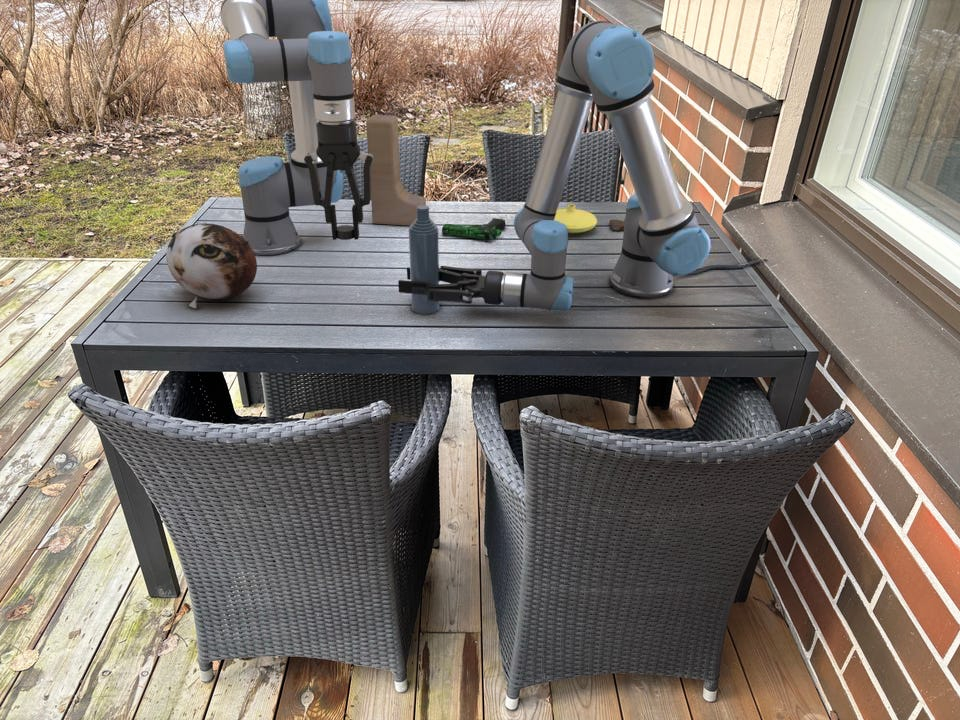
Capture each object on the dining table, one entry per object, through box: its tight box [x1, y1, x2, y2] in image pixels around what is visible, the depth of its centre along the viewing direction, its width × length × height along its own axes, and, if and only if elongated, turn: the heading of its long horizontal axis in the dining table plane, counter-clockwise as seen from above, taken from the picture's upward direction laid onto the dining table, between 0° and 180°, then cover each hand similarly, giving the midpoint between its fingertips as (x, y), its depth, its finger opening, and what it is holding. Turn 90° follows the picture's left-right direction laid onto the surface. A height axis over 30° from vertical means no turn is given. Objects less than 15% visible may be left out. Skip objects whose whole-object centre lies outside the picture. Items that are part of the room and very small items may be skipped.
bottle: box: [408, 204, 441, 315], centre depth 159 cm, size 6×6×24 cm
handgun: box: [441, 217, 506, 242], centre depth 207 cm, size 16×3×15 cm
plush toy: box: [165, 222, 258, 309], centre depth 165 cm, size 22×18×20 cm
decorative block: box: [365, 114, 427, 227], centre depth 207 cm, size 8×15×30 cm, turn 82°
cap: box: [336, 224, 354, 241], centre depth 148 cm, size 4×4×2 cm
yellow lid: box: [554, 203, 598, 234], centre depth 209 cm, size 16×16×7 cm
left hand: (346, 237), depth 148 cm, fingers closed on cap, 4 cm apart
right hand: (403, 279), depth 163 cm, fingers closed on bottle, 6 cm apart
